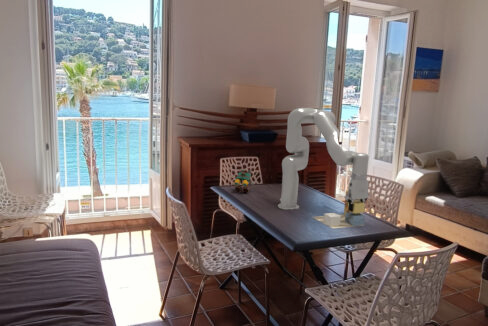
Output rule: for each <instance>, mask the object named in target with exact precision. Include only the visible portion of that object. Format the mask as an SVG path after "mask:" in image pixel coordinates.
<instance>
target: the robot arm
mask: <svg viewBox="0 0 488 326" xmlns="http://www.w3.org/2000/svg"><path fill="white" fill-rule="evenodd" d="M336 121H337V120H336V115H335V114H334V112H332V111H329V110H324V109H317V108H312V107H298V108H295V109H293V110H291V112H290V113H289V114H288V116H287V130H286V131H287V132H286V139H285V140H286V141H285V148H286V151H287V152H288V153H290V154H292V155H290V154H289V155H287V156H285V157H284V158H283V159H282V160H281V161H282V162H281V169H282V170H281V171H282V180H281V182H282V183H281V196H280V198H279V201H280V203H279V204H277V207H278V208H279V209H280V210H284V211H287V210H299V209H300V205H298V204H297V203H298V194H299V192H298V191H299V182H300V181H299V179H300V178H299V173H298V171H302V170H304V169H306V168H307V166H308V162H309V153H310V143H309V140H308V139H307V138H306V137H305V136H302V134H303V127H302V125H301V124H315V126H316V127H317V129H318V131H319V132H320V134H321V135H322V137H323V138H324V140H325V144H326V150H327V152H328V154H329V155H330V157H331V159H332V160H333V162H334V163H335V164H336V165H337V166H339V167H345V166H350V165H351V167H352V168H351V169H352V170H351V174H350V176H349V177H350V180H349V183H348V187H347V190H348V193H347V194H346V193H345V195H344V200H345V199H346V200H347V202H348V203H349V206H348V210H349V211H351V212H353V206H354V204H353V202H354V200H355V199H360V202H363V203H365V204H366V202H367V200H368V199H369V198H370V194H369V182H368V181H369V180H368V179H367V178H368V177H367V176H368V168H369V158H370V157H369V155H368V154H367V153H364V152H356V151H353V150H343V148H342V146H341V145H340V142H339V136H340V135H341V133H340V132H341V131H340V130H339V129H338V127H337V126H336V124H335V123H336ZM349 197H350V198H349ZM351 199H352V200H351Z"/></svg>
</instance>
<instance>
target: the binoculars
mask: <svg viewBox="0 0 488 326" xmlns="http://www.w3.org/2000/svg"><path fill="white" fill-rule="evenodd" d="M251 172H252V171H251V170H247V172H245V170H243V169H241V170H240V172H238V174H237V175H236V178H235V180H234V184H233V185H234V191H235V192H236V191H239V192H238V193H241V192H243V193H244V192H246V193H245V194H249V192H250V191H252V190H253V189H254V187H255V184H254V183H252V180H251V176H252V175H251ZM241 182H242V183H241ZM240 184H241V185H242V186H241V185H240ZM248 184H250V185H252V186H253V187H252V188H250V187H249V186H248ZM249 190H250V191H249Z"/></svg>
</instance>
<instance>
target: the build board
mask: <svg viewBox="0 0 488 326" xmlns="http://www.w3.org/2000/svg"><path fill="white" fill-rule="evenodd" d="M338 215H339V216H341V219H340V226H328V225H327V224H325V223H323V222H324V215H319V216H312V218H313V219H315V220H316V221H319V222H320V223H322V224H323V225H325V226H327V227H329V228H331V229H342V228H343V229H344V228H351V227H361V226H362V227H363V226H365V220H366V219H365V217H366V216H365V214H362V213H353V212H348V213H345V216H344V214H338Z"/></svg>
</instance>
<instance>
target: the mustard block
mask: <svg viewBox="0 0 488 326" xmlns="http://www.w3.org/2000/svg"><path fill="white" fill-rule="evenodd" d="M353 204H354V206H353V213H360V214H362V213H363V214H364V213H365V208H366V206H365V205H366V202H365V203H363V202H360V201H358V200H355V201H354V202H353ZM348 206H349V203H348ZM347 210H348V209H347ZM348 211H349V210H348ZM350 212H351V211H350Z"/></svg>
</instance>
